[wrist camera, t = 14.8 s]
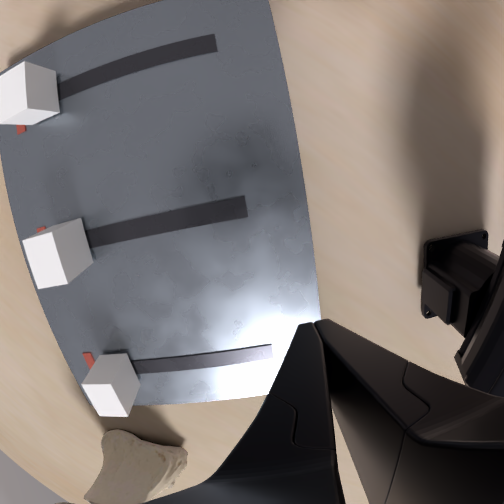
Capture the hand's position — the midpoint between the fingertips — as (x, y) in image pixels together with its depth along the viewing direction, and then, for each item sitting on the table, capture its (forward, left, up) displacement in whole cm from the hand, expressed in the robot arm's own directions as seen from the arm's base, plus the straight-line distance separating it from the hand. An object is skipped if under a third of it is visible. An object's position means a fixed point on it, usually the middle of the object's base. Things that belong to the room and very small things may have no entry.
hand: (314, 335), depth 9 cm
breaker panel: (+8, -2, -13) cm, 15 cm away
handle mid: (+13, -2, -11) cm, 17 cm away
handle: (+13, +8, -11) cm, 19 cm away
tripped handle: (+13, -12, -11) cm, 21 cm away
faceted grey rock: (+16, +20, -13) cm, 29 cm away
